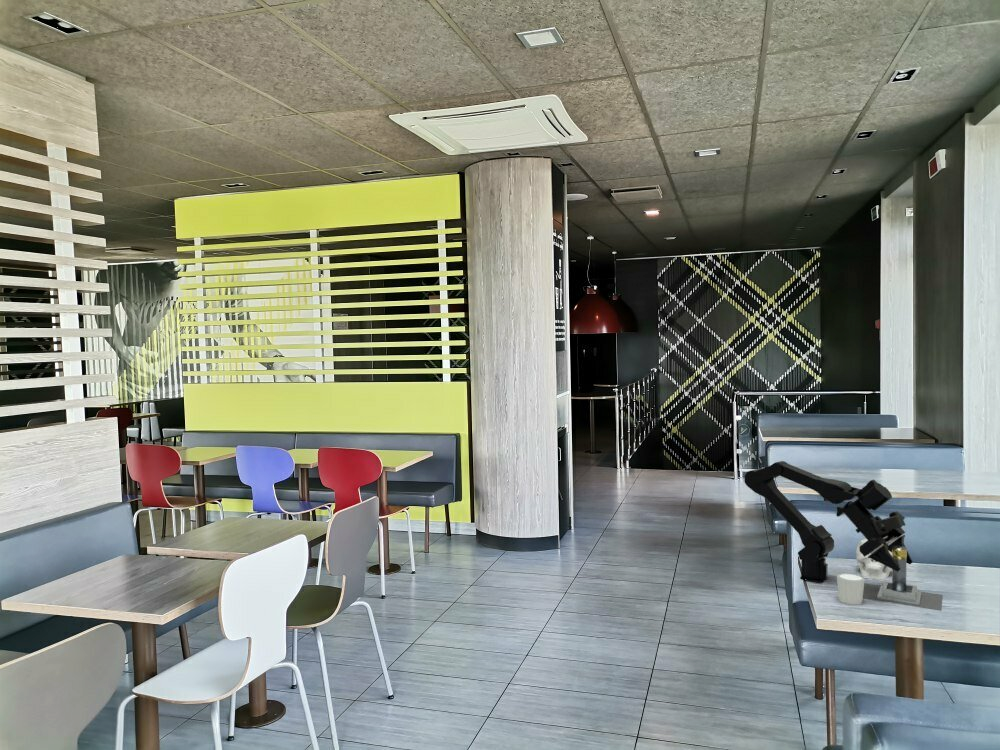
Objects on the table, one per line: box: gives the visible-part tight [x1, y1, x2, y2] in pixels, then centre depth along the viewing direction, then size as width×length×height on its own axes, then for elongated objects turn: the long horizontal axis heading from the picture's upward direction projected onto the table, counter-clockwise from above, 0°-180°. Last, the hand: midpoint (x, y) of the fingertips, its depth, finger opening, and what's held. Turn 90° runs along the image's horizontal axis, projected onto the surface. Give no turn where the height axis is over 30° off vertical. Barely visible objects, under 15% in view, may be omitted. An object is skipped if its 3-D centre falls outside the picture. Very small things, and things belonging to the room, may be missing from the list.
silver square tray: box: [877, 581, 922, 606], centre depth 200 cm, size 10×10×3 cm
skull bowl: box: [855, 538, 892, 581], centre depth 221 cm, size 10×14×12 cm
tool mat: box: [863, 582, 944, 612], centre depth 201 cm, size 22×14×1 cm, turn 57°
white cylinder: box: [836, 573, 866, 606], centre depth 197 cm, size 7×7×7 cm
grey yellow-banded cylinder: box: [891, 545, 908, 592], centre depth 199 cm, size 4×4×13 cm
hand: (905, 566), depth 198 cm, fingers open, 9 cm apart
